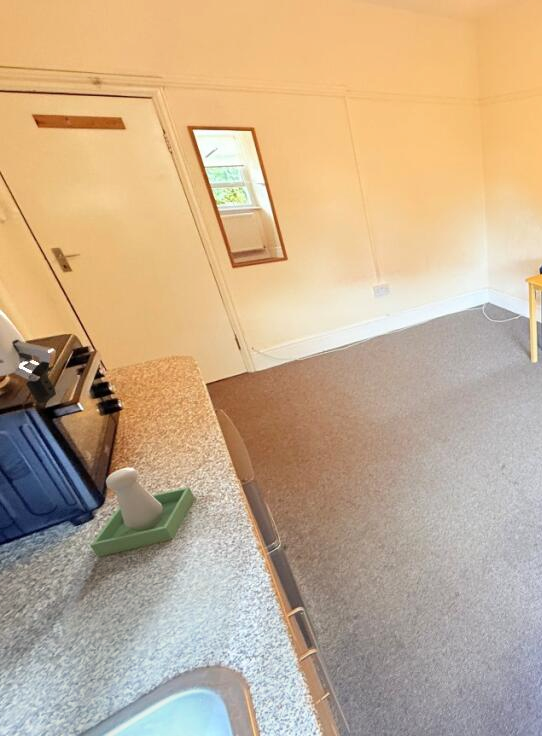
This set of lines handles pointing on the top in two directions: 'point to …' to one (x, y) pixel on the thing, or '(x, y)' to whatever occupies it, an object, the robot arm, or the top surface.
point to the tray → (125, 538)
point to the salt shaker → (134, 500)
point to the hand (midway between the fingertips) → (9, 404)
